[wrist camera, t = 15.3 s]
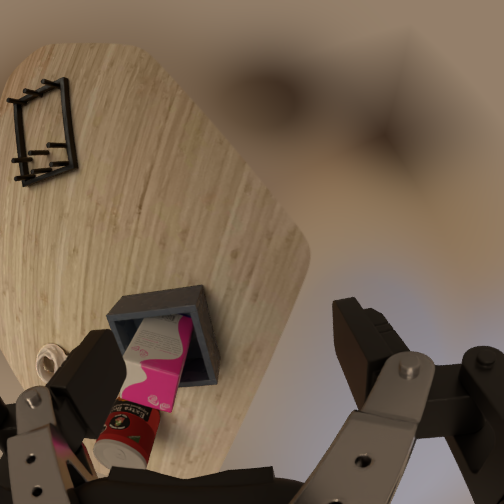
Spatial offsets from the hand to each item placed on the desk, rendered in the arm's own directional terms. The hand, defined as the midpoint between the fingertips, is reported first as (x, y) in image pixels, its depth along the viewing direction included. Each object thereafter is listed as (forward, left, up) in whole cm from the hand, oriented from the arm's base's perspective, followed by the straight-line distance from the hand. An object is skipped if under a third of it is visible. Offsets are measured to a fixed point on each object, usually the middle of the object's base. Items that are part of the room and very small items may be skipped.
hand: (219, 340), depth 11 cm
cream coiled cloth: (+16, -32, -26) cm, 44 cm away
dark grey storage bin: (+12, -11, -26) cm, 30 cm away
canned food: (+26, -21, -26) cm, 42 cm away
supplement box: (+12, -11, -25) cm, 30 cm away
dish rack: (-16, -22, -26) cm, 37 cm away
